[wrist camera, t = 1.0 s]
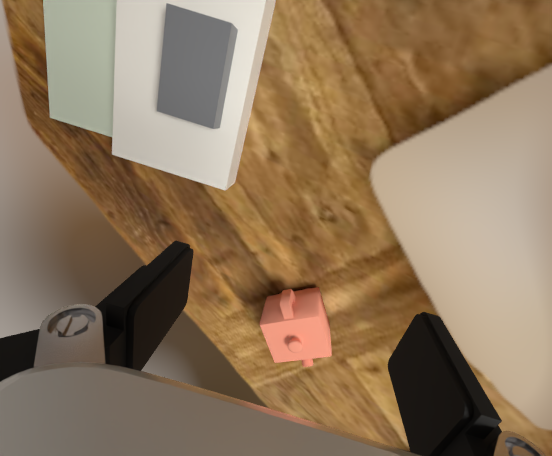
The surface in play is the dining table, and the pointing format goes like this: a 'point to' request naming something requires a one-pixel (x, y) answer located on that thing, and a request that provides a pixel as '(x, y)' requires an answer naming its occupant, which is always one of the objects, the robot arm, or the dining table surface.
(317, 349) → the pink cube teapot
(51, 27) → the mat
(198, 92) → the tile
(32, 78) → the dining table surface
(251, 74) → the plate
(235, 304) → the dining table surface
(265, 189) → the dining table surface
